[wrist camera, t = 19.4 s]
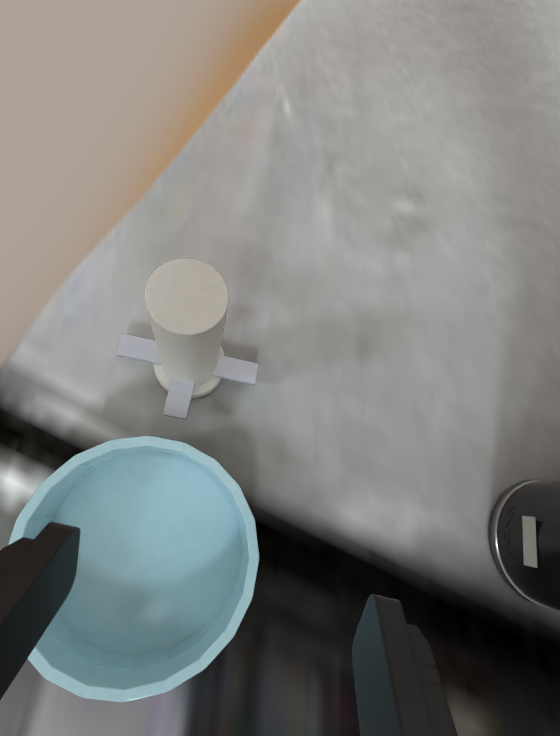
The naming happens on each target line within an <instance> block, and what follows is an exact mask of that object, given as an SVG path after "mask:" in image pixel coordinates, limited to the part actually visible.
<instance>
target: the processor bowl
mask: <svg viewBox="0 0 560 736" xmlns="http://www.w3.org/2000/svg"><path fill="white" fill-rule="evenodd" d="M49 522H57V523H62V524H66V525H70V526H75V527H79V528H80V531H81V534H80V544H79V553H78V563H77V572H76V577H75V580H74V583H73V586H72V588H71V591H70V593H69V595H68V597H67V598H66V600H65V601H64V603H63V604H62V606H61V608H60V609H59V611H58V612H57V614H56V615H55V617H54V618H53V620H52V621H51V623H50V624H49V626H48V627H47V629H46V631H45V632H44V634H43V635H42V637H41V638H40V640H39V641H38V643H37V644H36V646H35V647H34V649H33V651H32V652H31V654H30V655H29V657H28V660H29V661H30V662H31V663H32V664H33V666H34V667H35V668H36V669H37V670H38V672H39V673H40V674H41V675H42V676H43V677H44V678H45V679H47V680H49V681H51V682H52V683H54V684H56V685H58V686H60V687H62V688H64V689H66V690H68V691H69V692H71V693H73V694H75V695H77V696H79V697H82V698H89V699H98V700H107V701H116V702H128V701H132V700H136V699H141V698H145V697H149V696H153V695H158V694H162V693H166V692H168V691H170V690H171V689H173V688H175V687H176V686H178V685H180V684H181V683H183V682H185V681H186V680H188V679H189V678H191V677H193V676H194V675H196V674H198V673H199V672H201V671H203V670H204V669H205V668H206V667H207V666H208V665H209V664H210V663H211V662H212V660H213V659H214V658H215V657H216V656H217V655H218V654H219V653H220V652H221V650H222V649H223V648H224V647H225V646H226V645H227V644H228V643H229V642H230V640H231V639H232V638H233V637H234V635H235V633H236V631H237V629H238V627H239V625H240V623H241V621H242V619H243V617H244V615H245V613H246V611H247V609H248V606H249V604H250V602H251V600H252V597H253V592H254V586H255V581H256V575H257V569H258V563H259V550H258V542H257V533H256V525H255V520H254V516H253V514H252V512H251V510H250V508H249V505H248V503H247V501H246V499H245V496H244V494H243V492H242V490H241V487H239V485H238V483H237V482H236V481H235V480H234V479H233V478H232V477H231V476H230V475H229V474H228V472H227V471H226V470H225V469H224V468H223V467H222V466H221V465H220V464H219V463H218V461H217V460H215V459H214V458H212V457H210V456H208V455H207V454H205V453H203V452H201V451H199V450H198V449H196V448H194V447H192V446H191V445H189V444H187V443H184V442H181V441H175V440H170V439H165V438H160V437H155V436H139V437H130V438H122V439H113V440H109V441H107V442H105V443H102V444H100V445H98V446H95V447H93V448H91V449H88V450H86V451H84V452H81V453H79V454H77V455H75V456H73V457H72V458H71V459H70V460H68V461H67V462H66V463H65V464H63V465H62V466H61V467H60V468H59V469H57V470H56V471H55V472H54V473H52V474H51V475H50V476H49V477H48V478H46V479H45V480H44V481H43V482H42V483H41V484H40V485H39V487H38V488H37V490H36V491H35V493H34V494H33V496H32V497H31V498H30V500H29V501H28V503H27V504H26V506H25V507H24V509H23V510H22V512H21V513H20V514H19V516H18V518H17V520H16V522H15V525H14V528H13V531H12V534H11V537H10V540H9V544H8V545H10V544H12V543H13V542H15V541H17V540H19V539H20V538H22V537H26V538H30V539H35V537H36V536H37V535H38V534H39V533H40V532H41V531H42V530H43V528H44V527H45V526H46V525H47V524H48V523H49Z"/></svg>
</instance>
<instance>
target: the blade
mask: <svg viewBox="0 0 560 736" xmlns="http://www.w3.org/2000/svg"><path fill="white" fill-rule="evenodd" d="M144 301H145V305H146V309H147V313H148V317H149V320H150V324H151V328H152V331H153V335H154V339H155V340H151V339H146V338H142V337H137V336H133V335H128V334H124V333H122V336H121V339H120V343H119V346H118V349H117V353H116V354H117V356H121V357H125V358H130V359H135V360H139V361H144V362H148V363H153V367H154V372H155V375H156V377H157V380H158V381H159V383H160V385H161V386H162V387H163V388H164V389H165V390H166V391H167V392H168V394H167V398H166V402H165V406H164V410H163V415H166V416H171V417H176V418H181V419H187V415H188V411H189V407H190V402H191V399H195V398H199V397H202V396H205V395H207V394H209V393H210V392H211V391H213V390H214V389H215V388H216V387H217V385H218V384H219V383H220V381H221V379H222V378H223V379H227V380H232V381H237V382H241V383H246V384H251V385H255V383H256V378H257V373H258V367H259V363H254V362H250V361H245V360H241V359H236V358H232V357H227V356H225V355H224V352H223V349H222V347H221V341H222V336H223V331H224V325H225V320H226V315H227V310H228V304H229V292H228V288H227V285H226V282H225V281H224V279H223V277H222V276H221V275H220V273H219V272H218V271H217V270H216V269H214V268H213V267H212V266H210V265H209V264H207V263H205V262H203V261H200V260H196V259H191V258H180V259H174V260H171V261H168V262H166V263H164V264H162V265H161V266H159V267H158V268H157V269H156V270H155V271H154V272H153V273H152V274H151V276H150V277H149V279H148V281H147V283H146V286H145V291H144Z"/></svg>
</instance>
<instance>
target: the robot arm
mask: <svg viewBox="0 0 560 736" xmlns="http://www.w3.org/2000/svg"><path fill="white" fill-rule="evenodd" d="M80 534H81V531H80V528H79V527H75V526H70V525H66V524H62V523H57V522H49V523H48V524H47V525H46V526H45V527H44V528H43V530H42V531H41V532H40V533H39V534H38V535H37V536H36V537H35V539H30V538H26V537H22V538H20V539H19V540H17V541H15V542H13V543H12V544H10V545H8V546H6V547H4V548H3V549H2V550H1V551H0V700H1V698H2V697H3V695H4V693H5V692H6V690H7V689H8V687H9V686H10V684H11V683H12V681H13V680H14V678H15V677H16V675H17V674H18V672H19V670H20V669H21V667H22V666H23V664H24V663H25V661H26V660H27V658H28V657H29V655H30V654H31V652H32V651H33V649H34V647H35V646H36V644H37V643H38V641H39V640H40V638H41V637H42V635H43V634H44V632H45V631H46V629H47V627H48V626H49V624H50V623H51V621H52V620H53V618H54V617H55V615H56V614H57V612H58V611H59V609H60V608H61V606H62V604H63V603H64V601H65V600H66V598H67V597H68V595H69V593H70V591H71V588H72V586H73V583H74V580H75V577H76V572H77V563H78V553H79V544H80ZM489 538H490V546H491V551H492V555H493V558H494V561H495V564H496V566H497V568H498V570H499V572H500V574H501V576H502V577H503V579H504V580H505V581H506V583H507V584H508V585H509V586H510V587H511V588H512V590H514V591H515V592H516V593H517V594H518V595H520V596H521V597H522V598H524V599H526V600H527V601H529V602H532V603H534V604H537V605H540V606H543V607H546V608H552V609H556V610H559V611H560V481H547V480H528V481H523V482H520V483H518V484H516V485H514V486H512V487H511V488H509V489H508V490H507V491H506V492H505V493H504V494H503V495H502V496H501V497H500V499H499V500H498V502H497V504H496V506H495V508H494V510H493V513H492V517H491V521H490V530H489ZM352 665H353V674H354V683H355V691H356V700H357V709H358V718H359V727H360V736H458V735H457V732H456V729H455V726H454V722H453V719H452V716H451V712H450V709H449V706H448V703H447V699H446V696H445V693H444V690H443V687H441V680H440V677H439V673H438V670H437V669H436V664H435V660H434V657H433V654H432V650H431V647H430V645H429V643H428V642H427V640H426V639H425V637H424V636H423V634H422V633H421V631H420V630H419V628H418V627H417V626H415V625H411V624H406V621H405V617H404V613H403V609H402V606H401V603H400V601H399V600H396V599H392V598H387V597H383V596H378V595H374V594H371V595H370V596H369V598H368V600H367V603H366V606H365V608H364V611H363V614H362V617H361V620H360V622H359V625H358V628H357V631H356V633H355V637H354V641H353V648H352Z"/></svg>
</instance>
